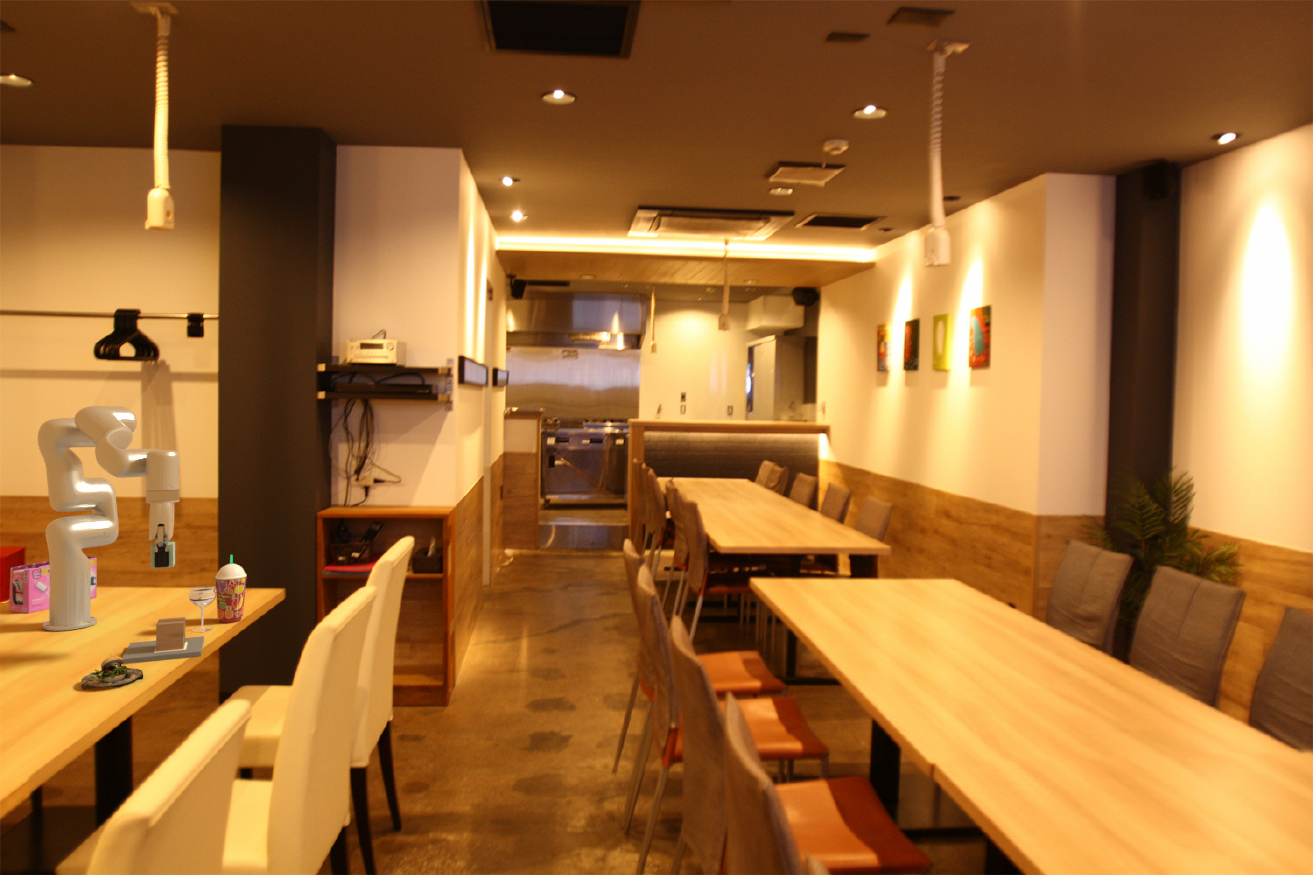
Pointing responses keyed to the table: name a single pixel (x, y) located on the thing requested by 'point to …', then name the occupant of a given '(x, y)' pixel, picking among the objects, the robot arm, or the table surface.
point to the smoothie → (230, 592)
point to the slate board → (148, 651)
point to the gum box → (37, 586)
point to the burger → (111, 674)
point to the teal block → (171, 555)
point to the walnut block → (170, 634)
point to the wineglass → (202, 601)
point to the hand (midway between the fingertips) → (163, 564)
